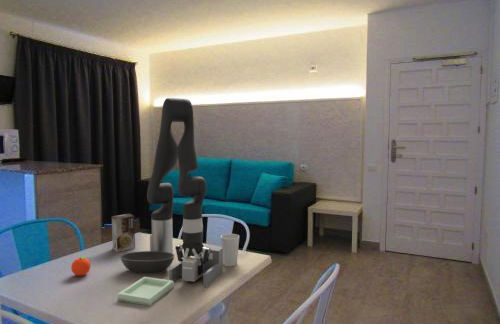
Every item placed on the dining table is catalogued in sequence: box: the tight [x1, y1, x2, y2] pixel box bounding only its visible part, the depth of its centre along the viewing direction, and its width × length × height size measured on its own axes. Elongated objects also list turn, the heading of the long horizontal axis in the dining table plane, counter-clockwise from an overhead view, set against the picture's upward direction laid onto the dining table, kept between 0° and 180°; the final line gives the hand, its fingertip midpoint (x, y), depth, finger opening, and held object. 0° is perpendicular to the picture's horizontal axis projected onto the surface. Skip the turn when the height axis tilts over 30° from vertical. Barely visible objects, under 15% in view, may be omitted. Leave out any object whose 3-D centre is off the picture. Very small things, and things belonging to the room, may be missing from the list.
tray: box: [117, 276, 175, 307], centre depth 131 cm, size 12×15×2 cm
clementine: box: [70, 256, 92, 277], centre depth 148 cm, size 8×7×7 cm
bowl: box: [119, 250, 175, 275], centre depth 152 cm, size 12×22×6 cm, turn 90°
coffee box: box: [111, 213, 136, 253], centre depth 180 cm, size 9×6×16 cm
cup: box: [220, 233, 240, 267], centre depth 160 cm, size 8×8×12 cm
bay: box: [168, 245, 224, 288], centre depth 145 cm, size 15×16×10 cm
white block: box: [181, 255, 203, 282], centre depth 142 cm, size 5×9×8 cm, turn 163°
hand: (193, 273), depth 142 cm, fingers closed on white block, 5 cm apart
